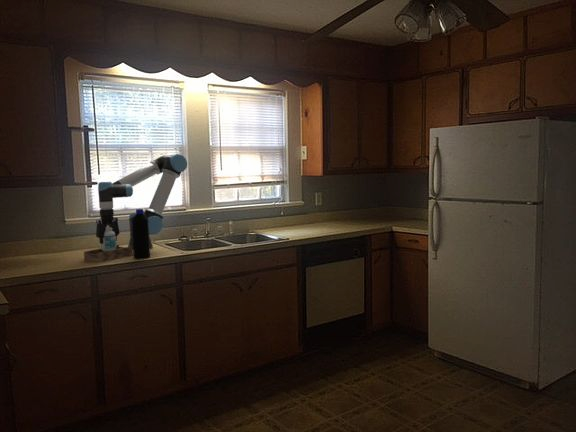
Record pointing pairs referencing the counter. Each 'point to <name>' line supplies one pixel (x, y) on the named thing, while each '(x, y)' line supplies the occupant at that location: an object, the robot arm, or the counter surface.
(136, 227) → the bottle
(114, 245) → the pill bottle
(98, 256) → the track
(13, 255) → the counter surface
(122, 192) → the robot arm
